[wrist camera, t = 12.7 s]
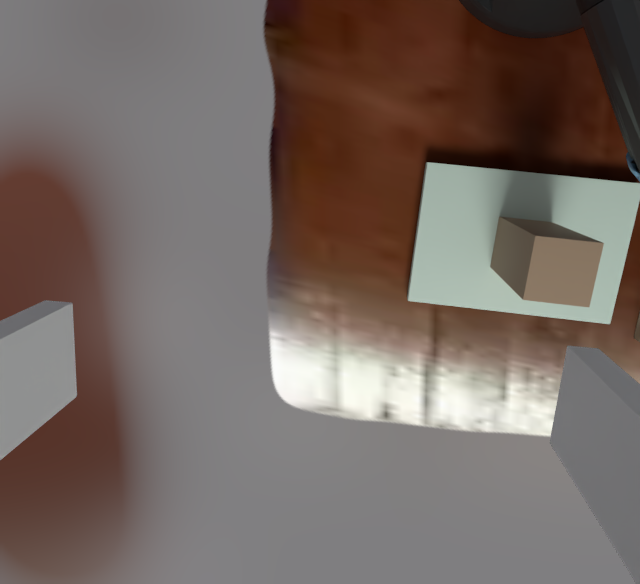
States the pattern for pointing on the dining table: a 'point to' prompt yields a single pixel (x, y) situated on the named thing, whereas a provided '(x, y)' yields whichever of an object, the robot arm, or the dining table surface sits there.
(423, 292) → the cover plate
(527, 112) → the dining table surface
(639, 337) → the birch box
